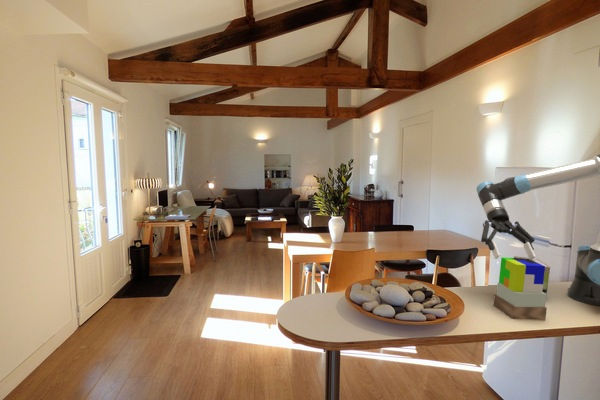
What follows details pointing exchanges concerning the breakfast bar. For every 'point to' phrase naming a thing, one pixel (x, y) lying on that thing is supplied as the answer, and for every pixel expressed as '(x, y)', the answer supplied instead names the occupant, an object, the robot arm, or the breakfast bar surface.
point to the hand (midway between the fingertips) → (515, 257)
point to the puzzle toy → (521, 275)
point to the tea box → (546, 274)
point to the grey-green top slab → (521, 297)
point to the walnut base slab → (519, 310)
